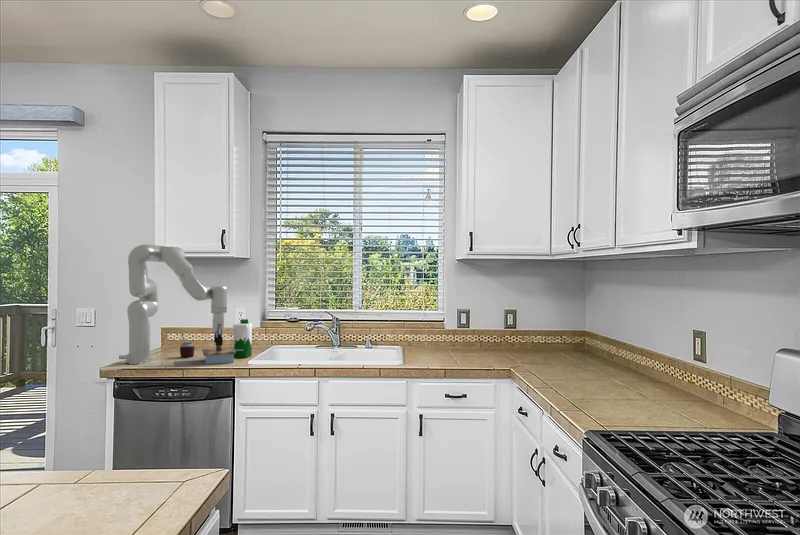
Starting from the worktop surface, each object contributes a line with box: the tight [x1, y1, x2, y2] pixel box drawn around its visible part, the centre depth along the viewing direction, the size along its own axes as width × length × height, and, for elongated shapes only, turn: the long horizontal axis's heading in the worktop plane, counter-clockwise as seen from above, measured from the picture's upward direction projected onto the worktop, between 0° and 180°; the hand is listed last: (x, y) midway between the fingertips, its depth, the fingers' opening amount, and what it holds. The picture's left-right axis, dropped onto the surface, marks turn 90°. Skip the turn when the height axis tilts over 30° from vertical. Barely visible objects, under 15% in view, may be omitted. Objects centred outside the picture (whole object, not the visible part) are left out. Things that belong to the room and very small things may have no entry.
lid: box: [202, 344, 236, 357], centre depth 261 cm, size 15×15×6 cm
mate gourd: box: [177, 329, 195, 359], centre depth 272 cm, size 8×8×15 cm
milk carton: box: [232, 318, 253, 359], centre depth 277 cm, size 9×9×20 cm
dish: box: [204, 354, 235, 365], centre depth 261 cm, size 13×13×5 cm
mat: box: [173, 359, 206, 367], centre depth 256 cm, size 14×14×1 cm
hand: (218, 343), depth 261 cm, fingers open, 9 cm apart
